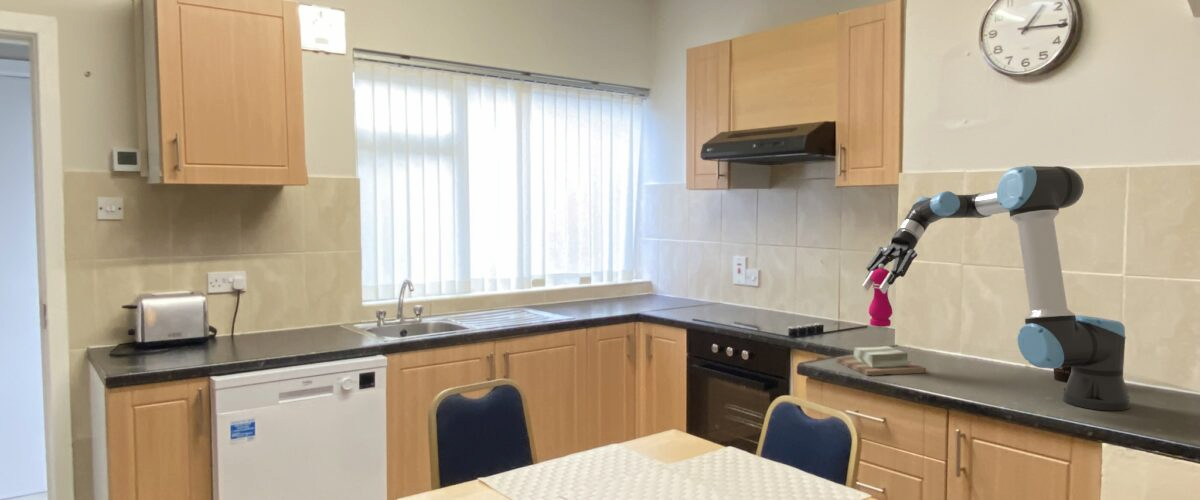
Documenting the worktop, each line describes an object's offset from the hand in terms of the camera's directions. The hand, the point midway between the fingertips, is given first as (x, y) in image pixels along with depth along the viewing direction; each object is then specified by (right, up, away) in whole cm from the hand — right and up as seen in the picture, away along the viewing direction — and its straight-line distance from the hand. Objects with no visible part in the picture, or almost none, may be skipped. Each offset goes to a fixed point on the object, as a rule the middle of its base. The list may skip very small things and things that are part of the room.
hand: (873, 289), depth 244 cm
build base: (+3, -25, +3) cm, 26 cm away
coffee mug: (+53, -27, -14) cm, 61 cm away
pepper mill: (+3, -12, +3) cm, 13 cm away
